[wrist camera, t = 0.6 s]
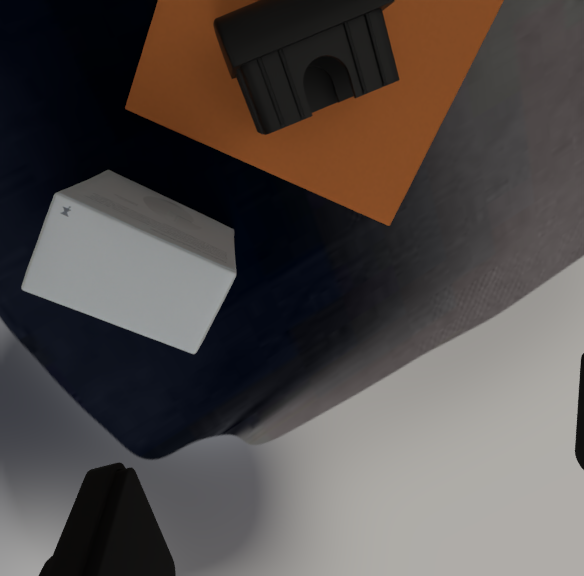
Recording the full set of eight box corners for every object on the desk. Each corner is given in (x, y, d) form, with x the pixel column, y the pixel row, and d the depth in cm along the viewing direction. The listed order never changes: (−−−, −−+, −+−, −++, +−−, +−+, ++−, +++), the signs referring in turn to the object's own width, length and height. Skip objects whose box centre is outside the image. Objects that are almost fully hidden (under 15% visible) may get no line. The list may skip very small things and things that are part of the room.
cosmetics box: (77, 244, 33) (15, 292, 24) (107, 168, 32) (54, 185, 22) (203, 297, 36) (194, 360, 26) (236, 229, 35) (240, 269, 25)
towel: (228, -227, 25) (228, -230, 25) (516, -29, 31) (519, -30, 31) (125, 108, 31) (124, 108, 30) (388, 225, 36) (389, 226, 36)
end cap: (348, -22, 29) (381, -64, 23) (378, 85, 32) (414, 74, 26) (213, 34, 30) (209, 8, 23) (253, 136, 32) (259, 138, 26)
